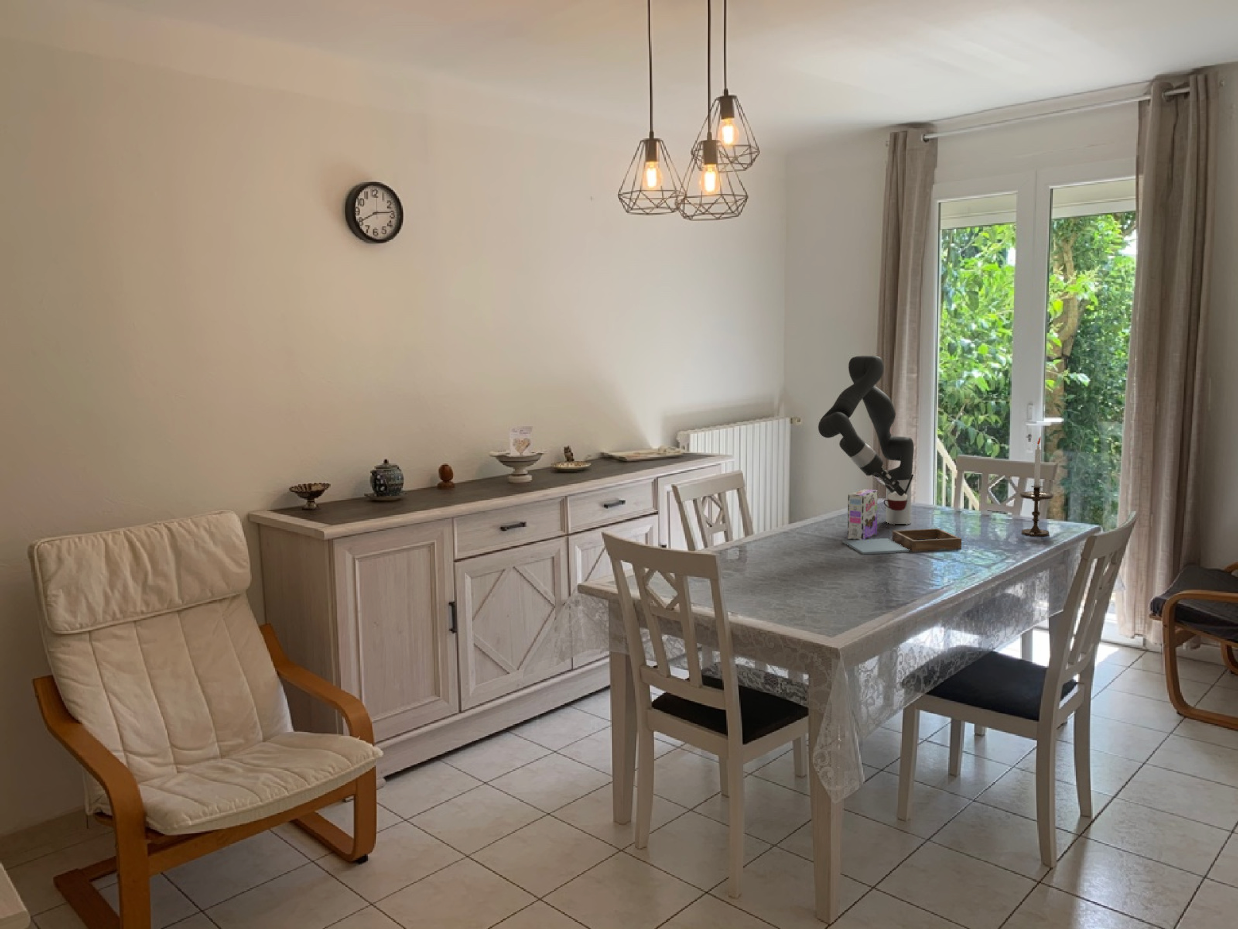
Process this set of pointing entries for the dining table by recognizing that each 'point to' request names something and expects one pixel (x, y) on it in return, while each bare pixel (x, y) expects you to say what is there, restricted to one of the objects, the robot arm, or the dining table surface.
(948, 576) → the dining table surface
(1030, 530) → the candlestick
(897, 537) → the bin
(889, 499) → the cocoa
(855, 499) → the candy box
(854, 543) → the board
